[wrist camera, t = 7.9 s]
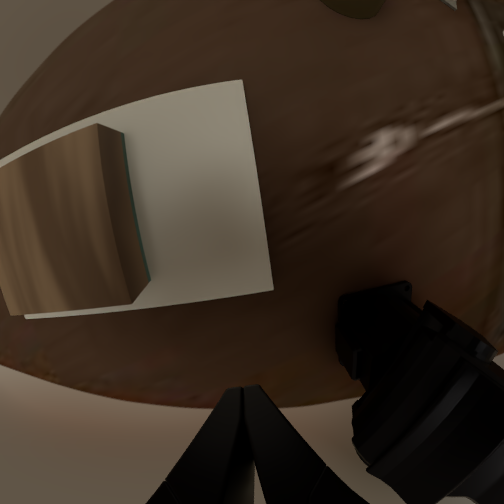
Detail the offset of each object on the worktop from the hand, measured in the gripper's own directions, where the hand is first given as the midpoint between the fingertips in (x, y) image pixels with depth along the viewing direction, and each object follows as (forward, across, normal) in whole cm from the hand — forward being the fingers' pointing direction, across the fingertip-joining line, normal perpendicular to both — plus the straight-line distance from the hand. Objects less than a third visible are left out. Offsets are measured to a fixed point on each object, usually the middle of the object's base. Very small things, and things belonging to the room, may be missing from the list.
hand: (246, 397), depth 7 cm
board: (+13, +9, -5) cm, 17 cm away
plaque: (+10, +6, -5) cm, 13 cm away
